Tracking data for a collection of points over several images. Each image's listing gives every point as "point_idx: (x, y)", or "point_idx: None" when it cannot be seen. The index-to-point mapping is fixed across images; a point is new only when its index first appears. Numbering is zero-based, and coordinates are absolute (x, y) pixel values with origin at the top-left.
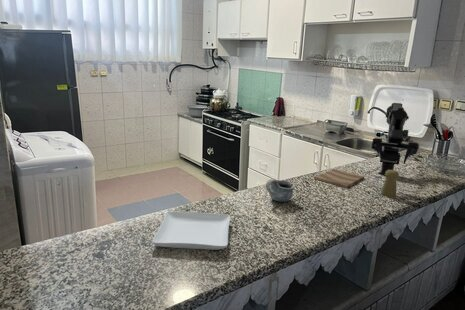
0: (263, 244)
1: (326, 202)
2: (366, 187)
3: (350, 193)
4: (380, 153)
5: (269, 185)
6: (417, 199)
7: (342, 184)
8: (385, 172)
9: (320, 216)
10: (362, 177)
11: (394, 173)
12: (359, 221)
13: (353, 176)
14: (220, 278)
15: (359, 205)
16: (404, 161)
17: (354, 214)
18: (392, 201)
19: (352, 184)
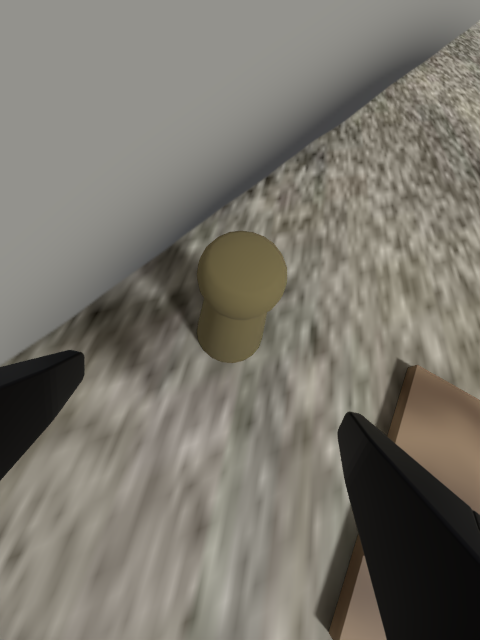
0: (473, 72)
1: (439, 215)
2: (319, 413)
3: (384, 307)
4: (440, 485)
5: None
6: (106, 309)
7: (439, 377)
8: (286, 282)
9: (428, 146)
10: (351, 597)
11: (239, 231)
12: (345, 134)
13: None
14: (476, 32)
15: (347, 212)
16: (68, 355)
17: (358, 161)
18: None
19: (391, 429)
